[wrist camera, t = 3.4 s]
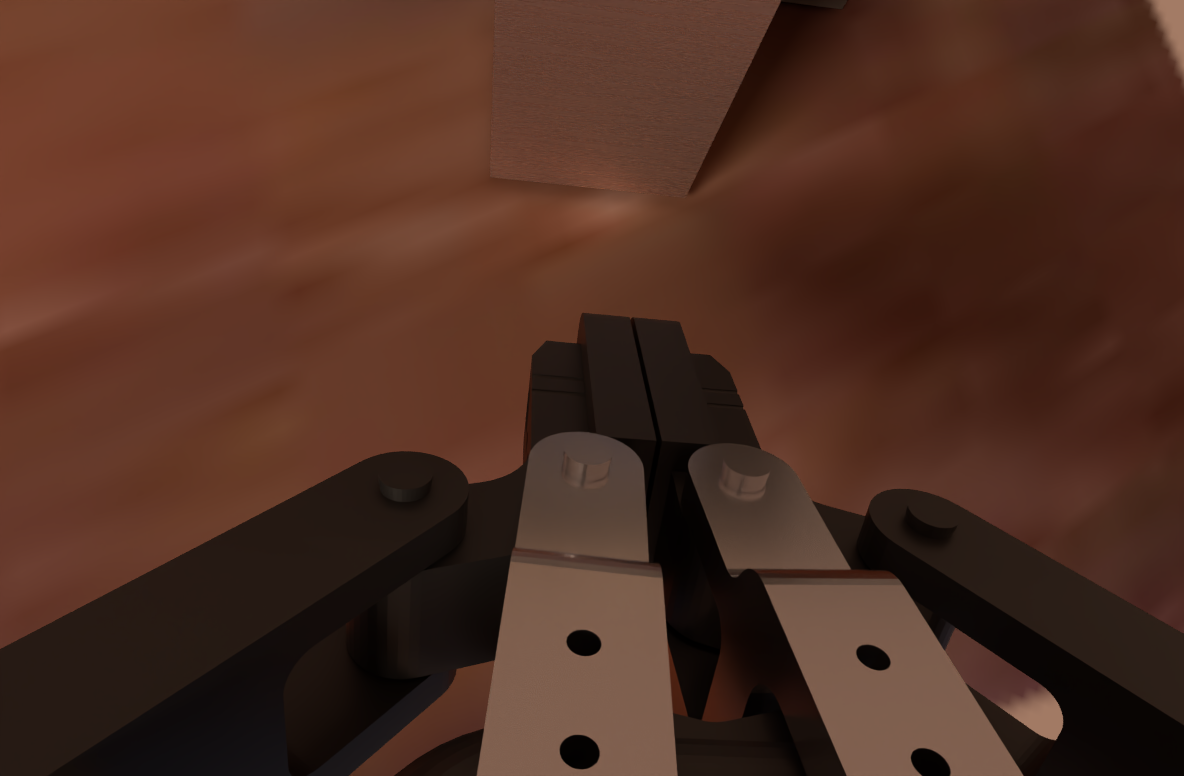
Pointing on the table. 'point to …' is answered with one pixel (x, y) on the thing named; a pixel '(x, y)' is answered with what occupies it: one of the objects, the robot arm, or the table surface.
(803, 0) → the socket block
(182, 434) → the table surface
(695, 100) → the peg
